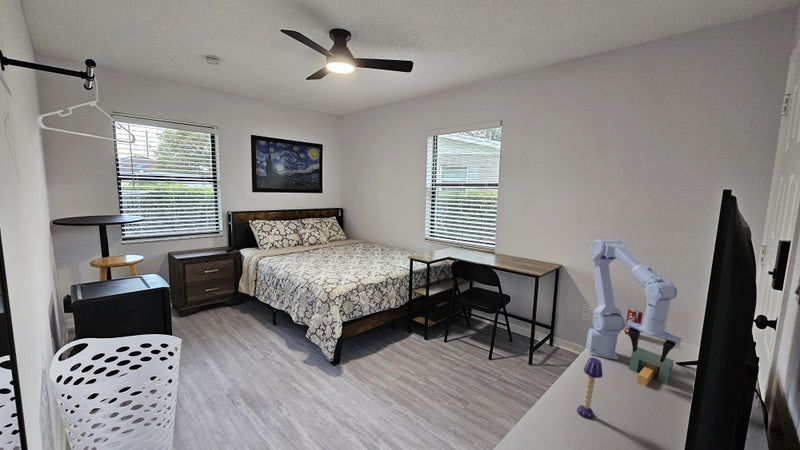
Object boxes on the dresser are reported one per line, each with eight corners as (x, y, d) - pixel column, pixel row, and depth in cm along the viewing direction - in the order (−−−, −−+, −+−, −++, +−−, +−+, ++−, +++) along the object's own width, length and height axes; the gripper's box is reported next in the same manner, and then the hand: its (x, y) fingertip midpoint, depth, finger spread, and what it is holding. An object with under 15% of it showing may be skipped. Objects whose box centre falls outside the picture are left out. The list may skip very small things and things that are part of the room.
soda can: (641, 338, 144) (646, 311, 142) (629, 337, 144) (633, 310, 142) (633, 332, 149) (637, 306, 147) (621, 331, 150) (625, 305, 147)
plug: (648, 387, 110) (650, 377, 110) (634, 381, 113) (635, 371, 113) (663, 367, 123) (664, 358, 122) (649, 362, 126) (651, 353, 125)
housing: (666, 384, 112) (669, 366, 111) (628, 369, 120) (631, 352, 119) (670, 378, 116) (674, 360, 115) (634, 363, 124) (637, 346, 123)
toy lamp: (579, 405, 100) (587, 353, 97) (597, 412, 97) (605, 359, 95) (575, 413, 97) (583, 360, 94) (593, 421, 94) (602, 367, 91)
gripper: (625, 312, 112) (619, 349, 115) (681, 329, 102) (672, 370, 104) (632, 307, 117) (626, 343, 119) (686, 323, 106) (677, 362, 109)
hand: (648, 355), depth 112 cm, fingers open, 7 cm apart
